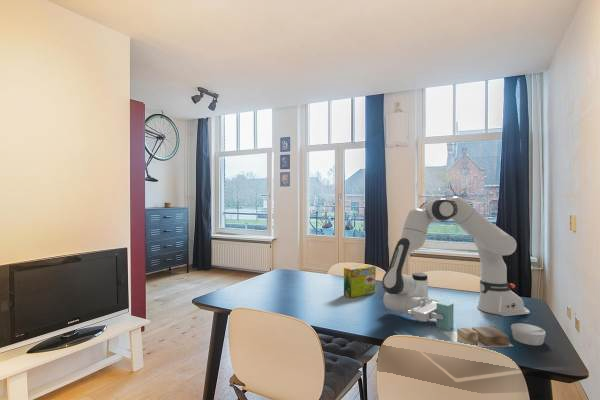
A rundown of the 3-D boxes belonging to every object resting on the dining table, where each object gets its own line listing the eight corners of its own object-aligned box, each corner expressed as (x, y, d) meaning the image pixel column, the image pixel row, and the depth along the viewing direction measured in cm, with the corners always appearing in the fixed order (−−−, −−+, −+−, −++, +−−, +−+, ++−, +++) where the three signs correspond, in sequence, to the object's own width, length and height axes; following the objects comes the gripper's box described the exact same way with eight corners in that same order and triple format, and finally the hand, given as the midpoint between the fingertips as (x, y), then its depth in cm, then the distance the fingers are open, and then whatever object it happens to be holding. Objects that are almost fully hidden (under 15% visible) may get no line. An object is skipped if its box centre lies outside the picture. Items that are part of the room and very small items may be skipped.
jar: (413, 297, 188) (413, 276, 187) (409, 293, 196) (409, 272, 196) (430, 297, 187) (430, 276, 187) (425, 293, 195) (425, 272, 195)
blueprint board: (491, 332, 140) (491, 330, 140) (513, 348, 126) (513, 346, 126) (443, 333, 139) (443, 331, 139) (461, 349, 125) (461, 347, 125)
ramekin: (543, 351, 123) (543, 337, 123) (508, 342, 131) (508, 329, 131) (547, 341, 132) (547, 328, 132) (513, 333, 139) (513, 320, 139)
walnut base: (494, 335, 135) (494, 326, 135) (509, 345, 126) (509, 336, 126) (472, 336, 135) (472, 327, 135) (485, 346, 126) (485, 336, 126)
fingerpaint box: (367, 290, 203) (367, 263, 203) (375, 292, 197) (375, 265, 197) (342, 295, 193) (342, 267, 193) (350, 298, 187) (350, 269, 187)
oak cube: (468, 340, 131) (468, 327, 131) (477, 345, 126) (477, 332, 126) (457, 341, 130) (457, 328, 130) (466, 347, 125) (466, 333, 125)
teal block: (441, 325, 148) (441, 300, 148) (453, 329, 144) (453, 303, 144) (436, 328, 144) (436, 303, 144) (448, 332, 141) (448, 305, 140)
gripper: (404, 305, 147) (435, 313, 136) (427, 295, 160) (457, 302, 150) (404, 320, 147) (435, 329, 137) (427, 309, 161) (457, 316, 150)
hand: (447, 315), depth 143 cm, fingers closed on teal block, 5 cm apart
